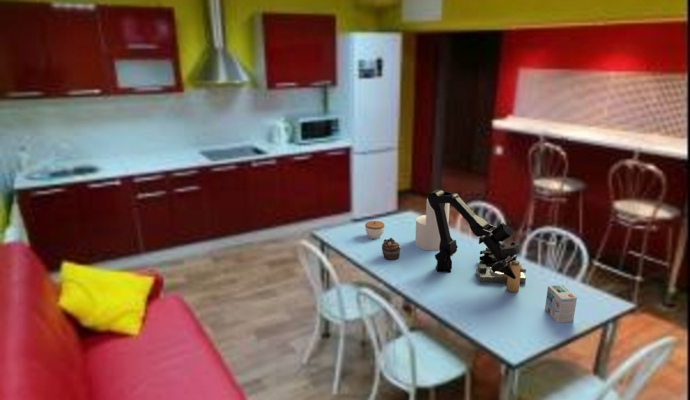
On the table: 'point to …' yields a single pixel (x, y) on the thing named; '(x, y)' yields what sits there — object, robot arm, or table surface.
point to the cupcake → (390, 249)
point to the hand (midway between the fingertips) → (517, 276)
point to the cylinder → (429, 229)
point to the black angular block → (487, 258)
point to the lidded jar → (374, 229)
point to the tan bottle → (516, 269)
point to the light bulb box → (560, 303)
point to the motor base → (493, 275)
